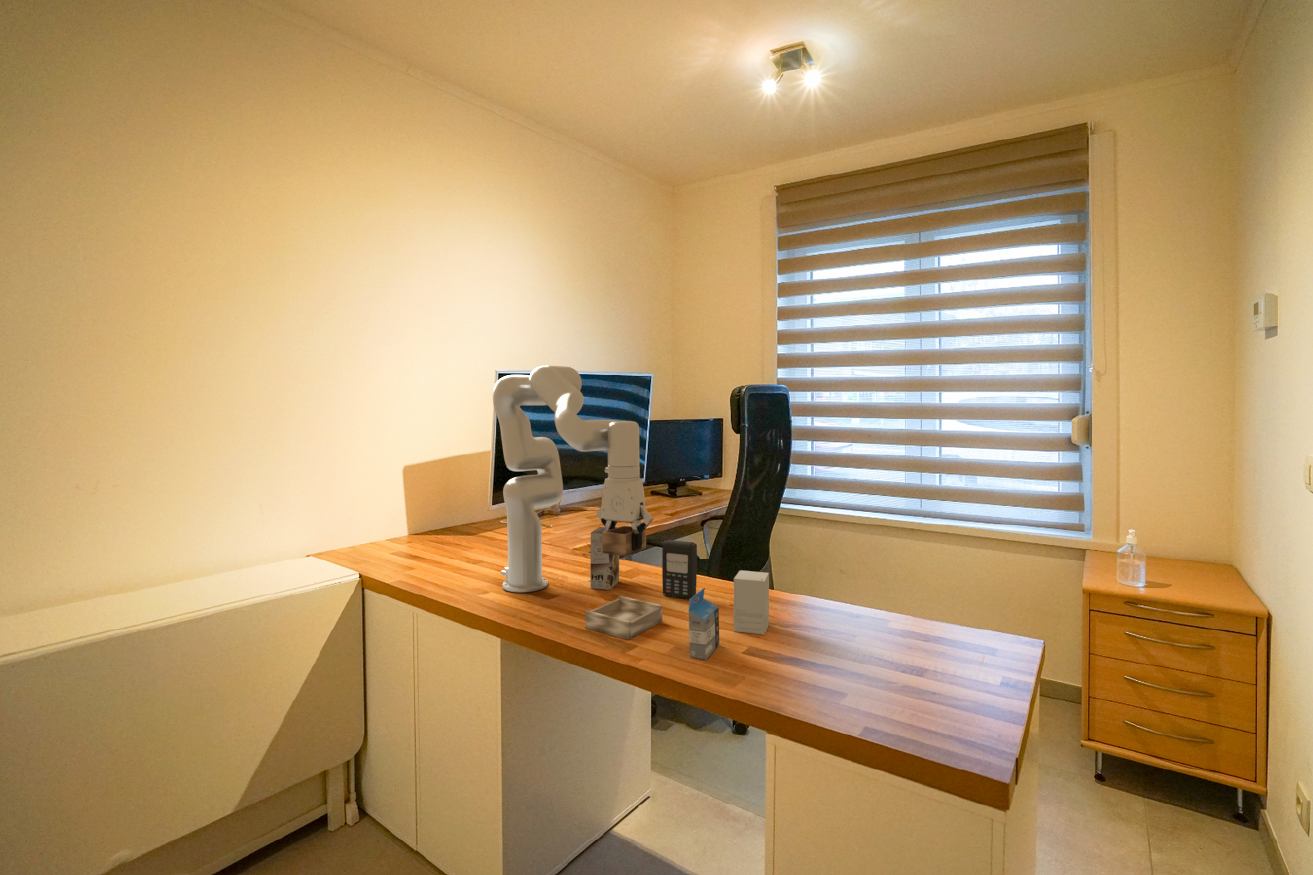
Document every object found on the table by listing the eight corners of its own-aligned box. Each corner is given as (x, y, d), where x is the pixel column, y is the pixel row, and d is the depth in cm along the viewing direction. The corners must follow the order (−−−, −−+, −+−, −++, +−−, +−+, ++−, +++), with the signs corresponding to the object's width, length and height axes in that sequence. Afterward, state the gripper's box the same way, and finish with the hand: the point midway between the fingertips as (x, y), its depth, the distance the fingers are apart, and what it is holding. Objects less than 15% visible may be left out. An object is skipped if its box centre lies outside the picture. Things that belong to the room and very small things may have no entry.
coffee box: (611, 590, 169) (611, 533, 168) (589, 588, 171) (589, 532, 170) (620, 580, 178) (620, 526, 177) (599, 579, 180) (599, 525, 179)
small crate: (602, 552, 142) (602, 531, 142) (624, 545, 150) (624, 525, 150) (624, 556, 139) (624, 534, 139) (646, 548, 146) (646, 528, 146)
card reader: (660, 596, 164) (660, 541, 163) (666, 591, 168) (666, 538, 167) (692, 600, 161) (692, 545, 160) (697, 596, 164) (697, 541, 163)
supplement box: (769, 624, 144) (770, 572, 143) (764, 635, 137) (765, 581, 136) (739, 620, 147) (739, 569, 146) (732, 631, 140) (733, 577, 139)
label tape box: (706, 660, 124) (706, 601, 123) (687, 657, 126) (688, 599, 125) (720, 644, 132) (720, 589, 131) (702, 641, 134) (702, 587, 133)
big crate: (585, 627, 141) (585, 611, 141) (620, 610, 153) (620, 595, 152) (628, 639, 134) (628, 622, 134) (662, 621, 146) (662, 605, 146)
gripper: (585, 472, 145) (586, 546, 146) (645, 476, 135) (646, 555, 136) (604, 469, 151) (605, 540, 152) (663, 473, 142) (663, 549, 143)
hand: (624, 547), depth 144 cm, fingers closed on small crate, 6 cm apart
